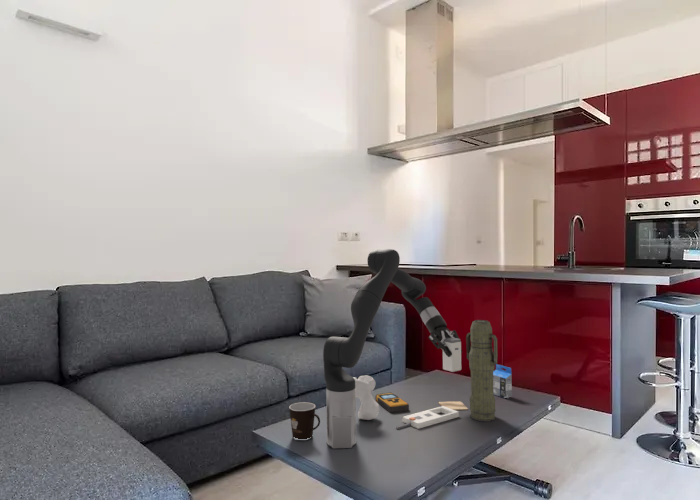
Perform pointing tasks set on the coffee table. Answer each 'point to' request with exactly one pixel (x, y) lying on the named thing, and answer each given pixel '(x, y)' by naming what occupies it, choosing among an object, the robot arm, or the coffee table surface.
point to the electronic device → (392, 402)
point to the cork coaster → (454, 405)
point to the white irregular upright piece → (366, 397)
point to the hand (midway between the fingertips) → (455, 354)
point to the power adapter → (455, 359)
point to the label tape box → (502, 381)
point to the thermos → (481, 369)
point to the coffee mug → (303, 419)
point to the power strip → (428, 417)
